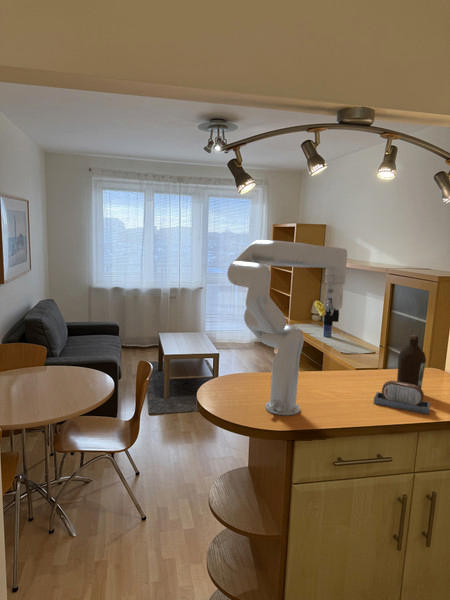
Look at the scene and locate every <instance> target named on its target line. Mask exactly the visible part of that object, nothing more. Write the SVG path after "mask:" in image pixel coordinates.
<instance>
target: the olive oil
mask: <svg viewBox="0 0 450 600" xmlns="http://www.w3.org/2000/svg"><path fill="white" fill-rule="evenodd" d="M419 337H420V336H419V335H416V334H411V335H410V338H409V342H408V343H409V344H408V345H406V346H405V347H404V348H403V349H401V350H400V351H399V354H398V358H397V359H398V362H397V376H396V377H397V378H396V380H397V381H398V382H403V383H408V384H413V385H416V386H418V387H420V388H421V389H422V387H423V386H422V385H423V380H424V374H425V368H426V364H427V363H426V361H427V357H426V354H425V352H424V351H423V350H422V349H421V347H420V346H419V341H420V339H419Z"/></svg>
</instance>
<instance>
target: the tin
mask: <svg viewBox="0 0 450 600" xmlns="http://www.w3.org/2000/svg"><path fill="white" fill-rule="evenodd" d="M381 393H382V395H383V397H384V398H385V399H387V400H392V401H397V402H402V403H407V404H412V405H417V406H418V405H420V404H421V403H422V401H424V398H425V394H424V392H423V389H422V387H421V388H420V387H418V386H416V385H413V384H408V383H403V382H398V381H396V380H389V381H386V382H385V383H384V384H383V385H382V389H381Z"/></svg>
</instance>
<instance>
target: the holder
mask: <svg viewBox="0 0 450 600" xmlns="http://www.w3.org/2000/svg"><path fill="white" fill-rule="evenodd" d="M373 404H374V405H377V406H378V405H379V406H383V407H387V408H392V409H397V410H398V409H399V410H402V411H406V412H412V413H417V414H422V415H427V416H429V413H430V408H431V407H430V406H431V401H425V400H423V401H422V403H421V404H420V405H418V406H417V405H412V404H407V403H402V402H397V401H392V400H387V399H385V398H384V397H383V395H382V392H379V391H376V394H375V395H374V398H373Z"/></svg>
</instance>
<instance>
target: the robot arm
mask: <svg viewBox="0 0 450 600" xmlns="http://www.w3.org/2000/svg"><path fill="white" fill-rule="evenodd" d="M347 261H348V250H347V249H346V248H342V247H337V246H336V247H335V246H324V245H316V244H309V243H303V242H293V241H283V240H273V239H272V240H271V239H269V240H268V239H258V240H257V239H256V240H255V241H253V242H252V243H250V244H249V245H248V246H247V247H246V248H245V249H244V250H243V251H241V253H240V254H239V255H237V257H235V259H234V260H233V261H232V262H231V263H230V265H229V266H228V268H227V273H226V274H227V278H228V281H229V283H231V284H232V285H235V286H237V287H242V288H248V289H247V293H246V298H245V306H246V309H245V310H244V315H243V319H244V323H245V325H246V327H247V328H248V329H249V330H250V332H251V333H253V335H254V336H255V337H256V338H257V339H258V340H259V341H260V342H261V343H262V344H264V345H266V346H268V347H272V348H275V349H277V352H276V354H275V356H274V357H273V359H272V364H271V382H270V383H271V384H270V397H269V401H267V402H266V403H265V409H266V411H268V412H270V413H271V414H275V415H278V416H295V415H297V414H299V413H300V411H301V407H300V405H298V403H297V398H298V397H297V395H298V381H299V369H300V368H299V367H300V359H301V358H300V357H301V353H302V349H303V346H304V343H305V342H304V341H305V335H304V332H303V331H302V330H301V329H300V328H299V327H297V326H295V325H292V324H289V323H287V319H286V316H285V314H284V313H283V311H281V310H280V308H279V307H278V306H277V305H276V303H275V302H274V301H273V299H272V298H271V297H270V294H269V292H270V285H271V280H272V274H271V271H270V269H269V268H268V267H267V266H274V267H292V268H321V269H323V268H325V274H324V275H325V277H324V284H326V288H325V297H324V318H323V325H324V326H331V327H332V326H333V322H335V323H339V318H340V309H342V308H343V296H344V294H343V293H344V285H345V283H346V271H347Z"/></svg>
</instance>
